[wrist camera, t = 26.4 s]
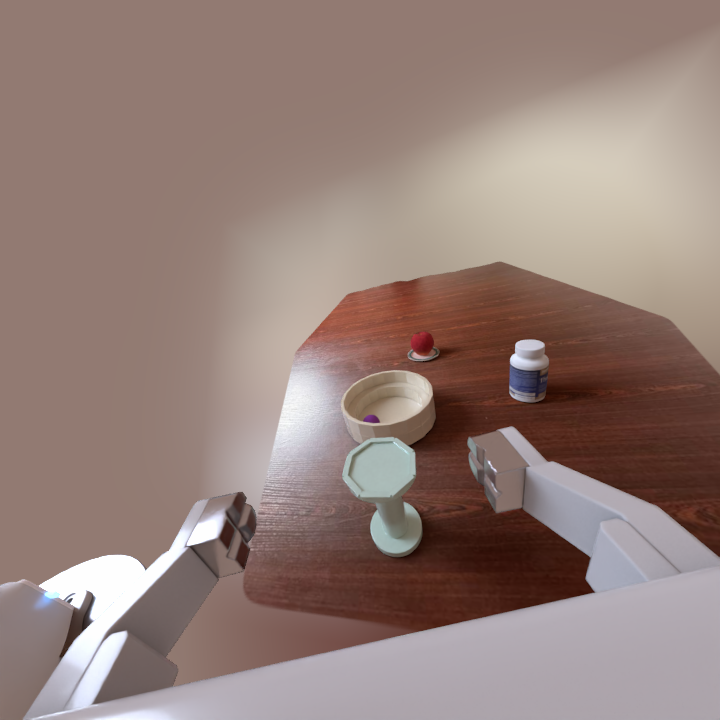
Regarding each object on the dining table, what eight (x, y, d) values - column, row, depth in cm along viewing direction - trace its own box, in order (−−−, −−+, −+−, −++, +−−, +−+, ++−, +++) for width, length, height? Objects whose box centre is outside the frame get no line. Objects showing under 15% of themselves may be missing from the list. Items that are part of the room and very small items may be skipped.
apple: (403, 361, 67) (399, 338, 64) (415, 347, 72) (411, 325, 70) (433, 363, 62) (430, 339, 59) (443, 348, 68) (441, 325, 65)
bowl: (339, 453, 43) (330, 428, 41) (356, 396, 57) (350, 375, 55) (440, 450, 39) (436, 422, 37) (432, 389, 53) (429, 366, 51)
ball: (358, 416, 45) (365, 421, 48) (362, 432, 43) (369, 436, 46) (373, 409, 45) (379, 414, 47) (378, 426, 43) (384, 430, 45)
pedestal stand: (362, 561, 28) (336, 496, 24) (370, 499, 35) (351, 439, 30) (430, 566, 27) (416, 497, 22) (426, 500, 33) (414, 435, 28)
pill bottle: (545, 406, 42) (550, 353, 38) (507, 401, 45) (508, 351, 41) (545, 387, 46) (550, 337, 42) (510, 384, 49) (512, 337, 45)
